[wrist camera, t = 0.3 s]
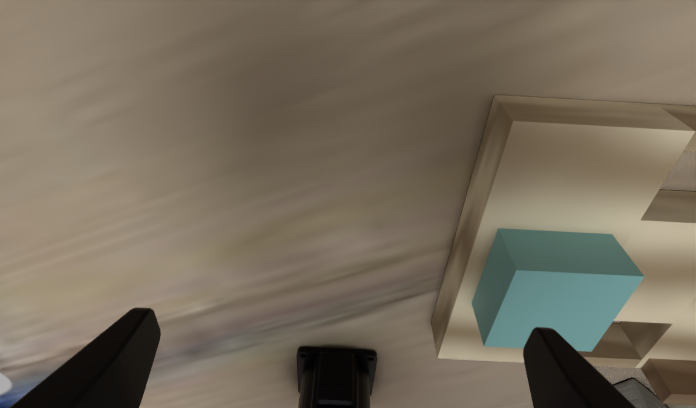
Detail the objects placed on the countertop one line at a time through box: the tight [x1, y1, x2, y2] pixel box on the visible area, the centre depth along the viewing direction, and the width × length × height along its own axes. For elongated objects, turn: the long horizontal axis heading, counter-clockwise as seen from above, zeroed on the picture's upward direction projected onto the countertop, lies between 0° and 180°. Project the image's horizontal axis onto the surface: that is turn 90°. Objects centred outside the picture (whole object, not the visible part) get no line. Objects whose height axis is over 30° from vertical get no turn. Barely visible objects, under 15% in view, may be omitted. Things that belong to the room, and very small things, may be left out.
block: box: [472, 228, 645, 352], centre depth 22 cm, size 6×6×3 cm
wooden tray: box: [431, 95, 696, 405], centre depth 23 cm, size 18×22×6 cm
